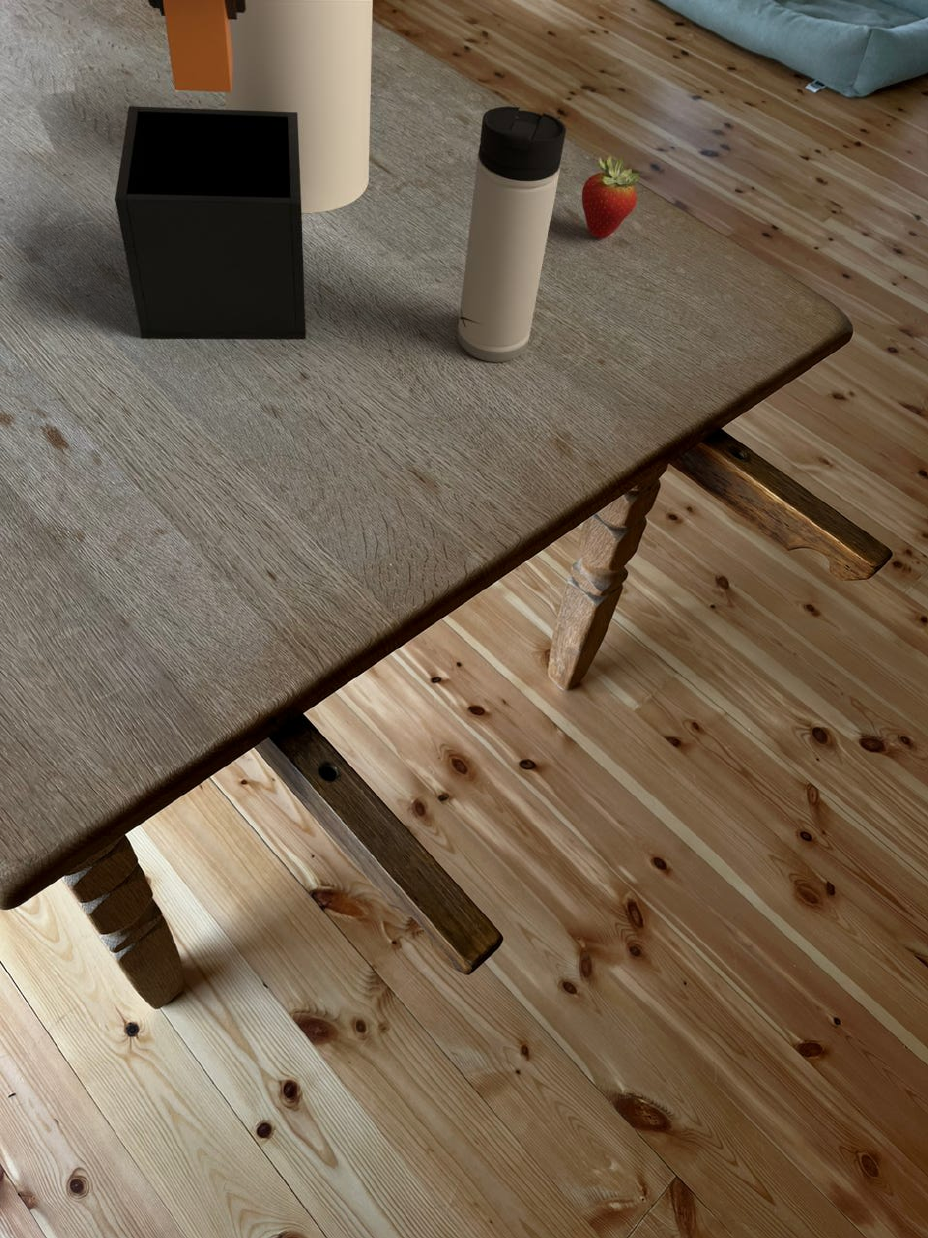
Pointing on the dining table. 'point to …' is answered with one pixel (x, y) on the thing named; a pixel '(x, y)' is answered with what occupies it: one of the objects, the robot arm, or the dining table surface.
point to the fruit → (608, 198)
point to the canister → (311, 87)
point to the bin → (213, 223)
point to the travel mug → (508, 230)
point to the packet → (199, 44)
